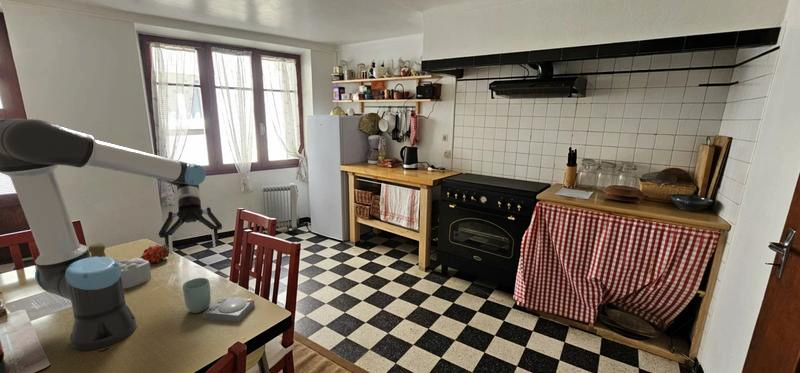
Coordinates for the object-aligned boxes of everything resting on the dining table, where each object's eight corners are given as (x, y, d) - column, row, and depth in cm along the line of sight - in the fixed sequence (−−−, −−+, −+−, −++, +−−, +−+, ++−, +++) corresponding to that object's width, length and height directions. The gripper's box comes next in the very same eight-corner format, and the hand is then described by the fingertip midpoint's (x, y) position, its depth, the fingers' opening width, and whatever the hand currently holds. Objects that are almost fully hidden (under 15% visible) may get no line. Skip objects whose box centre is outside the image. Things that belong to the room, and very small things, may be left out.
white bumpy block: (154, 278, 138) (151, 258, 136) (116, 292, 126) (112, 271, 124) (141, 272, 142) (138, 253, 140) (103, 285, 131) (99, 265, 129)
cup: (193, 318, 112) (190, 291, 109) (181, 311, 116) (178, 284, 113) (216, 307, 118) (213, 281, 116) (204, 301, 122) (201, 275, 120)
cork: (101, 271, 142) (96, 247, 140) (87, 271, 142) (82, 246, 140) (113, 265, 148) (109, 241, 146) (99, 265, 148) (95, 241, 146)
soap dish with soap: (238, 322, 110) (238, 314, 110) (204, 319, 111) (203, 311, 111) (254, 305, 120) (254, 298, 119) (222, 302, 121) (222, 295, 121)
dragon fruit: (173, 260, 158) (144, 273, 148) (164, 247, 160) (134, 259, 150) (174, 250, 153) (144, 262, 143) (164, 237, 155) (134, 248, 145)
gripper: (225, 201, 141) (231, 247, 132) (152, 209, 129) (153, 260, 120) (224, 191, 136) (231, 239, 126) (148, 199, 123) (149, 252, 114)
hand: (193, 249), depth 123 cm, fingers open, 13 cm apart
